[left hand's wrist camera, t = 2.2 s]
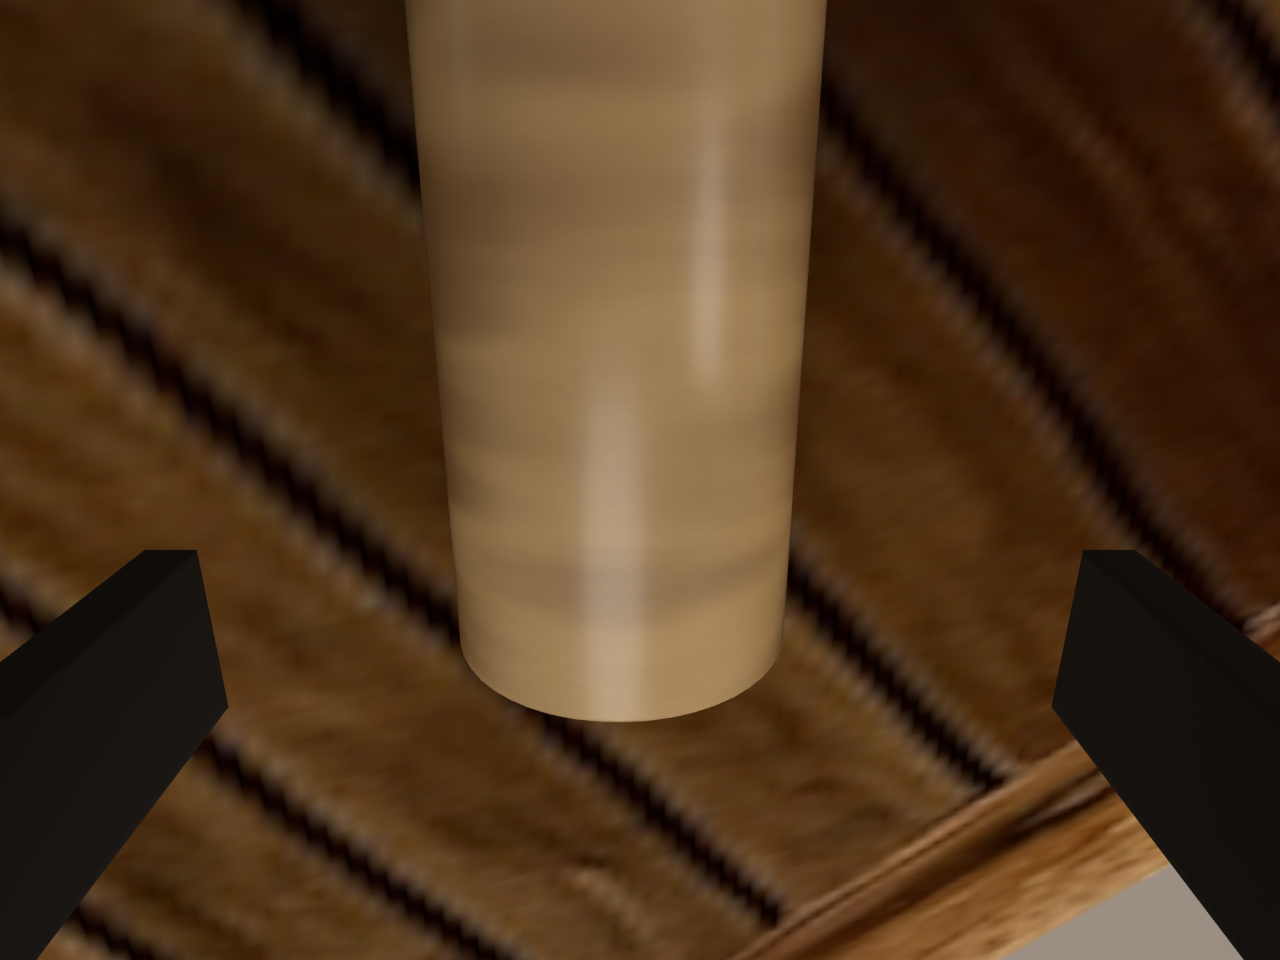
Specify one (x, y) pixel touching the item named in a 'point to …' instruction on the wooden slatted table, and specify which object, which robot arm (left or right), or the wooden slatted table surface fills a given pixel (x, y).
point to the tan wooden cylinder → (618, 334)
